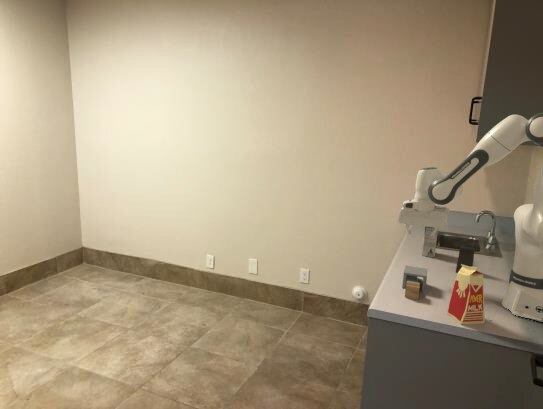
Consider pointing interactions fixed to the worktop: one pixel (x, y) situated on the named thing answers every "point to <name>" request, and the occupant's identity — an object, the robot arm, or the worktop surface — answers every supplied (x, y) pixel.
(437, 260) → the worktop surface
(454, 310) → the milk carton
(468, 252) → the phone stand
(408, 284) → the cube
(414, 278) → the bar
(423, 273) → the tunnel
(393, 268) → the worktop surface
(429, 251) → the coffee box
